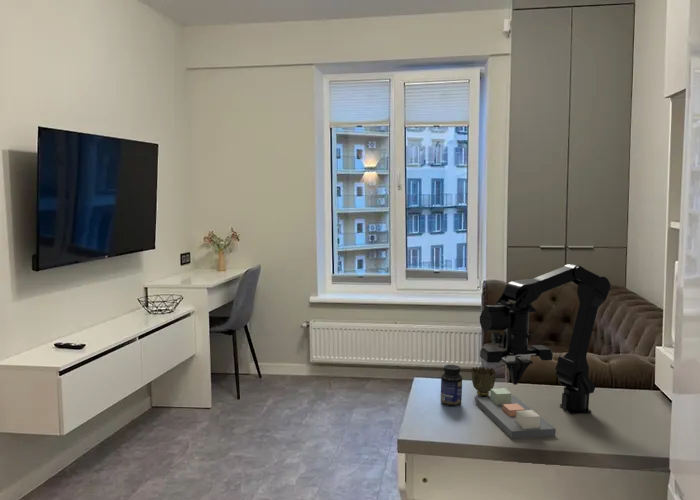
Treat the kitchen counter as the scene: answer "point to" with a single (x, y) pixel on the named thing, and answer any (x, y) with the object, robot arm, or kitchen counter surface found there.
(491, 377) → the cup
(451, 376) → the pill bottle
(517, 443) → the kitchen counter surface
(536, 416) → the cream button
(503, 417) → the button board
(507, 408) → the terracotta button
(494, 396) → the sage button
